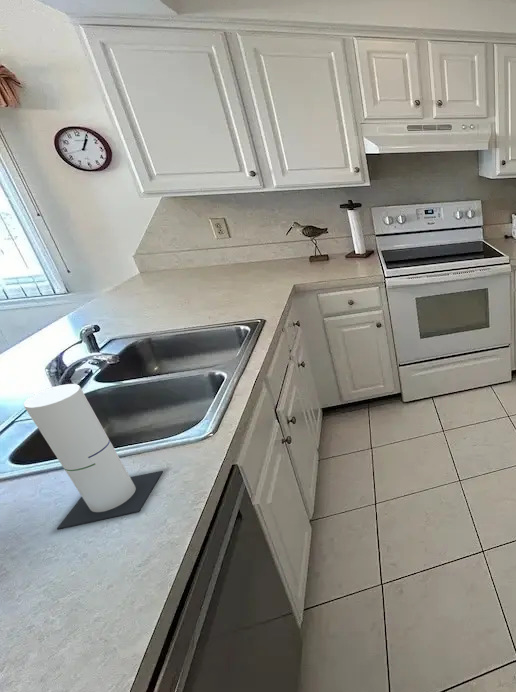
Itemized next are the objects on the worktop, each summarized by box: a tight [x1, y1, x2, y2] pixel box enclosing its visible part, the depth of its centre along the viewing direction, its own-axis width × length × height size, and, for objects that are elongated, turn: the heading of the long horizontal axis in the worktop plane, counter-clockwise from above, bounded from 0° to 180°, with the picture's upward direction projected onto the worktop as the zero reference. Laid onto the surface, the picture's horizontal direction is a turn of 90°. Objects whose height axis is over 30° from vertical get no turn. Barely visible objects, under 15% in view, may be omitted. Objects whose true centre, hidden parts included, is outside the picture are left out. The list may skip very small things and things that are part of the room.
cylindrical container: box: [22, 383, 136, 512], centre depth 78 cm, size 7×7×25 cm
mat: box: [56, 470, 164, 530], centre depth 83 cm, size 13×11×1 cm
